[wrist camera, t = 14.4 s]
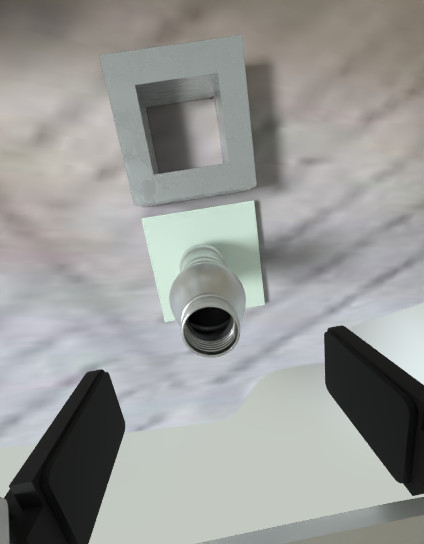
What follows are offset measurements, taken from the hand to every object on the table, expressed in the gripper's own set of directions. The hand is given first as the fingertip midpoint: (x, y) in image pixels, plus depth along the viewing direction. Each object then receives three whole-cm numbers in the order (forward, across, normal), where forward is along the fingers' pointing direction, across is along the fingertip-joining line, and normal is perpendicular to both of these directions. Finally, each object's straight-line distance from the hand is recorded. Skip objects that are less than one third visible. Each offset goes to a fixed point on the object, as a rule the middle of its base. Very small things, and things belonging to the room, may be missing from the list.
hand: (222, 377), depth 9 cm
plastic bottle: (+24, 0, 0) cm, 24 cm away
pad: (+25, -1, +1) cm, 25 cm away
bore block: (+25, -1, -16) cm, 30 cm away
